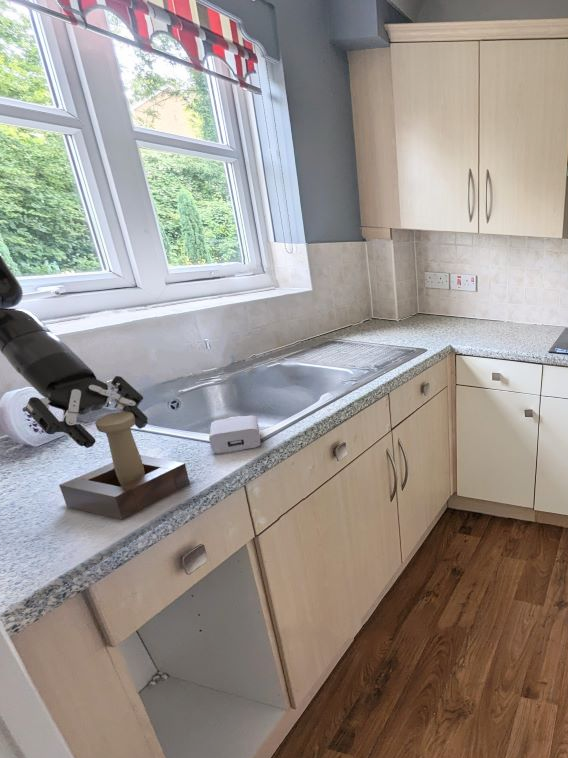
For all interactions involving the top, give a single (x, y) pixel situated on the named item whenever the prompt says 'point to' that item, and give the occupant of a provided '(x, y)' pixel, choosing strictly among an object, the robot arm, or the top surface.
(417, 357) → the top surface
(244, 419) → the charger
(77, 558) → the top surface
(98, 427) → the handle
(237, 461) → the top surface
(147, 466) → the socket
